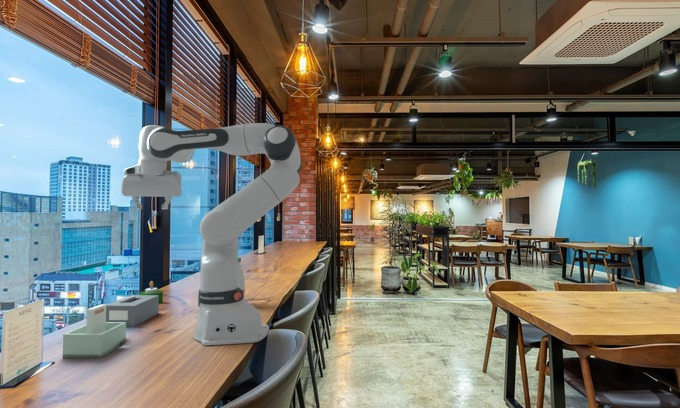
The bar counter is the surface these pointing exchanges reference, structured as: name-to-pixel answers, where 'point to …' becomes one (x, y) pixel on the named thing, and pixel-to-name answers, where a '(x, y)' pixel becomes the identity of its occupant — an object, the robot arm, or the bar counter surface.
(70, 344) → the stub box
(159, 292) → the candle
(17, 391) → the bar counter surface
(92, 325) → the pale bar
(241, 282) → the milk bottle
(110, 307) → the block
